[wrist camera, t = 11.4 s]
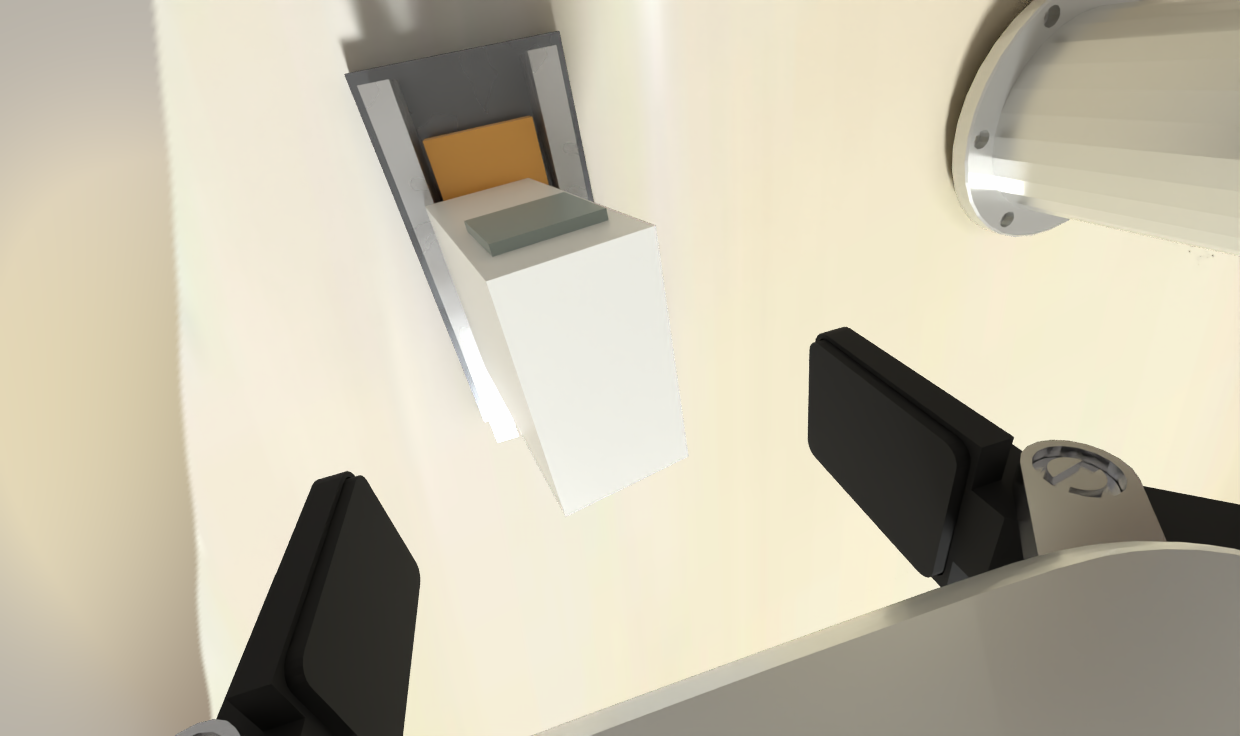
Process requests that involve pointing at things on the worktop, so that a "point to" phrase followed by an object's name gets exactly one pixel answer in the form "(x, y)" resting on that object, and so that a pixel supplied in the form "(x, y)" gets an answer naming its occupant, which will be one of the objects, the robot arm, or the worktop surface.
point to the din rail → (454, 101)
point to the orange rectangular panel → (485, 157)
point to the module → (569, 331)
